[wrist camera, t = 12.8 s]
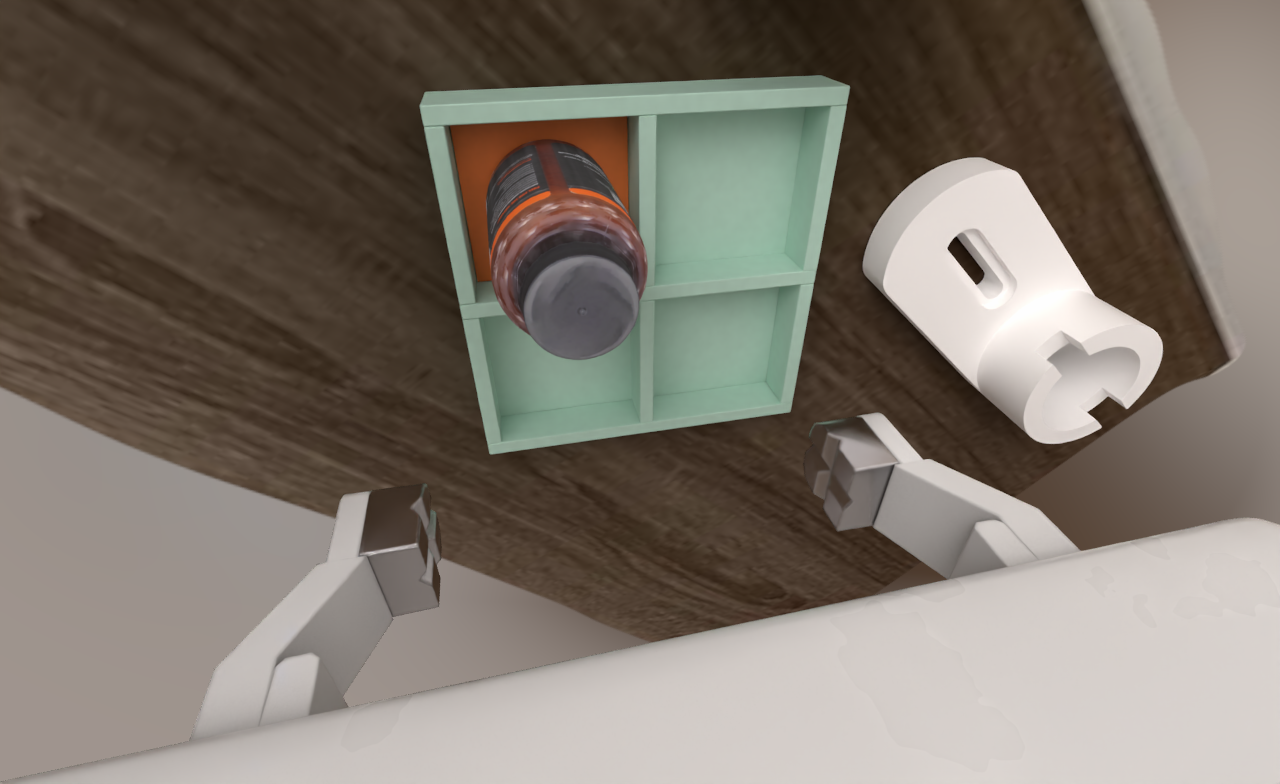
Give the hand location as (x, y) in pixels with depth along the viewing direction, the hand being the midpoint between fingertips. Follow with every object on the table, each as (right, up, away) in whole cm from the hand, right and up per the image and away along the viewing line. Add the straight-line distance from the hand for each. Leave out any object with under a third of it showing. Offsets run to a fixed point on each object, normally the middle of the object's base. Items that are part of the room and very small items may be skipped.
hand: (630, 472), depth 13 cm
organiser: (0, +8, +20) cm, 22 cm away
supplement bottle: (-4, +11, +17) cm, 20 cm away
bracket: (+22, +8, +26) cm, 35 cm away
